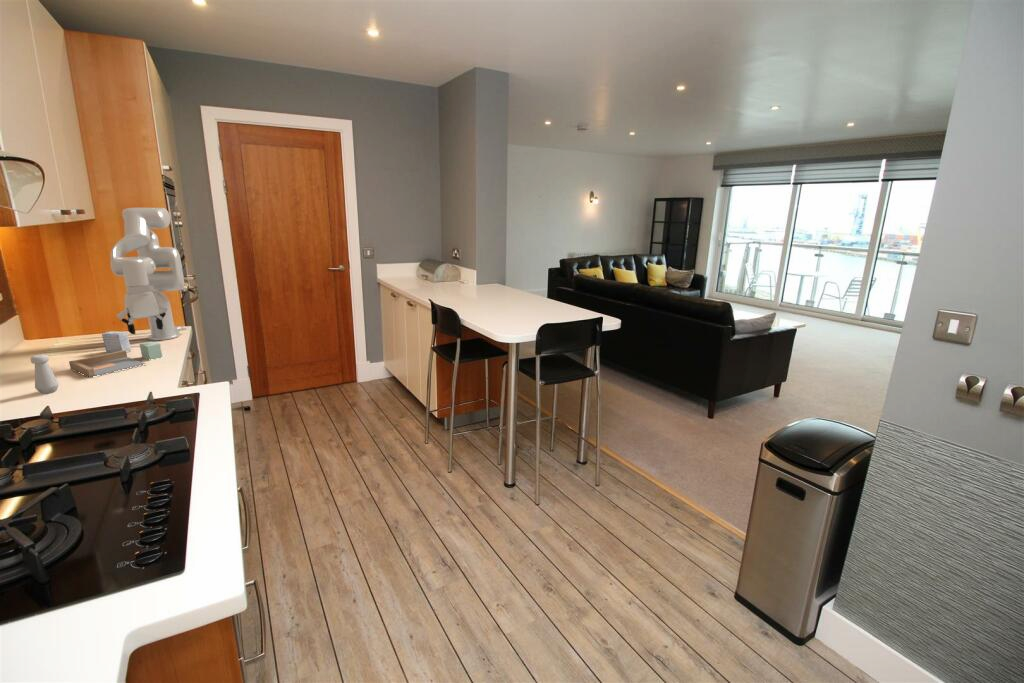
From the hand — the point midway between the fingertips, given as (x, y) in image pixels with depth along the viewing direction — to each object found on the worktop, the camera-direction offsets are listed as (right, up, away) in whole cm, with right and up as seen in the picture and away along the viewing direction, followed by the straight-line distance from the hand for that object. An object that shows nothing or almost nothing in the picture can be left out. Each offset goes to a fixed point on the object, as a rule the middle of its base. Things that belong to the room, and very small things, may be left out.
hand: (146, 331), depth 199 cm
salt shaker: (-8, -21, -34) cm, 41 cm away
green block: (0, -11, +4) cm, 12 cm away
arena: (-8, -14, -9) cm, 19 cm away
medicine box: (-20, -9, +11) cm, 25 cm away
